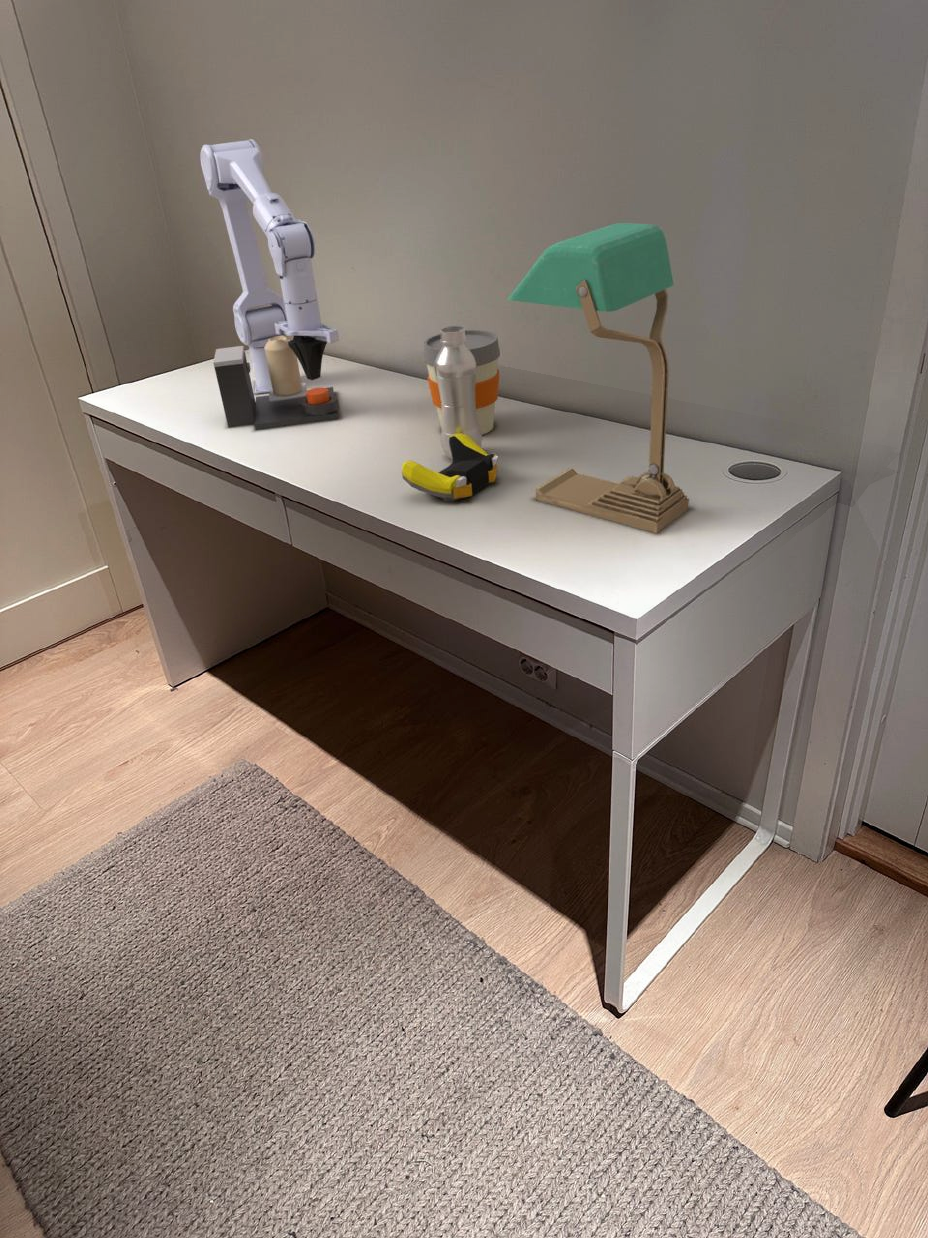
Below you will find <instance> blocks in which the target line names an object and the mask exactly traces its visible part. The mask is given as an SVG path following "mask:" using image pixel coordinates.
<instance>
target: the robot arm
mask: <svg viewBox="0 0 928 1238" xmlns="http://www.w3.org/2000/svg"><path fill="white" fill-rule="evenodd" d="M200 166H201V170H202V174H203V179H204V182H205V186H206V190H207V191H208V195H209V196H210V197H211V198H215V199H217V200H218V201H219V204H220V207H221V210H222V214H223V217H224V221H225V226H226V229H227V234H228V236H229V237H228V238H229V242H230V245H231V249H232V253H233V257H234V261H235V265H236V269H237V273H238V277H239V281H240V285H241V289H242V292H241V294H240V295H239V297H238V298H237V299H236V300H235V302H234V303H233V305H232V312H233V318H234V319H233V321H234V327H235V332H236V334H237V336H238V339H239V340H240V342H241V343H242V344H243V345H245V346H248V350H249V354H250V359H251V364H252V370H253V374H254V380H255V381H254V395H255V394H256V395H259V394H267V393H269V387H272V384H271V379H270V374H269V369H268V364H267V359H266V354H265V349H264V347H265V345H266V344H267V342H268V340H269V338H271V339H272V338H274V337H275V336H281V335H283V336H285V337H286V338H288V337H292V340H291V339H290V340H291V341H289V342H288V345H289V347H290V348H291V349H292V350H293V352H294V353H295V355H296V356H297V360H298V362H299V364H300V365H301V368H302V370H303V372H304V375H305V377H306V379H307V380H309V381H314V380H317V379H320V378H321V375H322V363H323V362H322V361H323V356H324V352H325V350H326V347H327V344H330V345H331V344H334V343H336V342H339V341H340V338H339V330H338V328H332V327H330V326H328V325H326V324H324V323H322V319H321V314H320V308H319V307H320V306H319V301H318V294H317V288H316V282H315V276H314V269H313V263H312V259H313V258H314V257H315V255H316V244H315V239H314V235H313V231H312V230H311V227H310V226H309V223H308V222H306V221H305V220H302V219H300V218H298V219H297V218H296V217H295V216H294V214H293V213H292V211H291V210H290V208H289V206H288V205H287V203H286V202H285V200H284V198H282V197H283V196H281V195H280V194H278V193H276V192H272V190H271V188H270V186H269V183H268V182H267V180H266V179H265V177H264V166H265V165H264V157H263V153H262V150H261V148H260V146H259V145H258V143H257V142H256V140H255V139H253V138H249V139H247V140H241V141H240V140H239V141H232V142H224V143H216V144H203V145H202V147H201V150H200ZM248 199H249V201H250V202H251V203H252V204H253V206H252V214H253V217H254V219H255V221H256V222H257V223H258V225H259V227H260V228H261V230H262V232H263V233H264V235H265V237H266V238H267V246H268V250H269V253H270V256H271V259H272V262H273V265H274V270H275V272H276V274H277V275H278V277H279V281H280V288H281V292H282V293H281V294H282V296H281V295H280V294H278V293H277V292H275V291H273V290H271V289H269V286H268V283H267V279H266V274H265V270H264V265H263V262H262V257H261V254H260V250H259V245H258V241H257V237H256V233H255V228H254V225H253V220H252V215H251V212H250V208H249V204H248ZM266 305H268V306H266ZM260 306H263V307H260ZM256 307H258V308H256ZM251 308H254V309H251Z"/></svg>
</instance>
